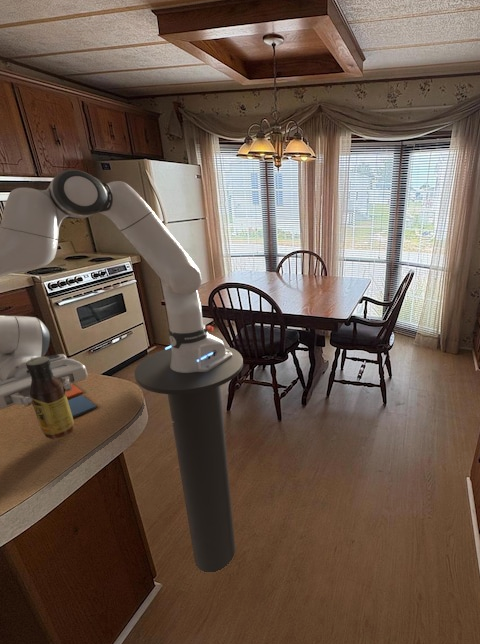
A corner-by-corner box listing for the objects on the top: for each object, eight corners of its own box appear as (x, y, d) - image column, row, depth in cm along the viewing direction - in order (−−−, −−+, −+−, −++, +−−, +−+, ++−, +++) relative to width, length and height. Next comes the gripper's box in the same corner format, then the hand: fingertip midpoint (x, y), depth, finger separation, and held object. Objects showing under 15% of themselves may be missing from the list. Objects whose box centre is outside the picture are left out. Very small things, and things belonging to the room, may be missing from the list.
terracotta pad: (70, 383, 106) (69, 381, 106) (83, 393, 102) (82, 391, 101) (38, 394, 100) (38, 392, 100) (51, 405, 95) (50, 403, 95)
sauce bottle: (43, 430, 83) (18, 357, 76) (74, 420, 87) (53, 350, 79) (45, 444, 79) (18, 369, 71) (77, 434, 83) (55, 361, 75)
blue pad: (82, 396, 100) (81, 395, 100) (97, 407, 95) (96, 405, 95) (50, 409, 94) (49, 407, 93) (63, 421, 89) (63, 419, 89)
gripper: (-35, 382, 76) (-16, 403, 69) (69, 351, 92) (93, 366, 85) (-25, 405, 79) (-5, 429, 72) (75, 372, 94) (99, 388, 87)
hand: (49, 394), depth 78 cm, fingers closed on sauce bottle, 6 cm apart
